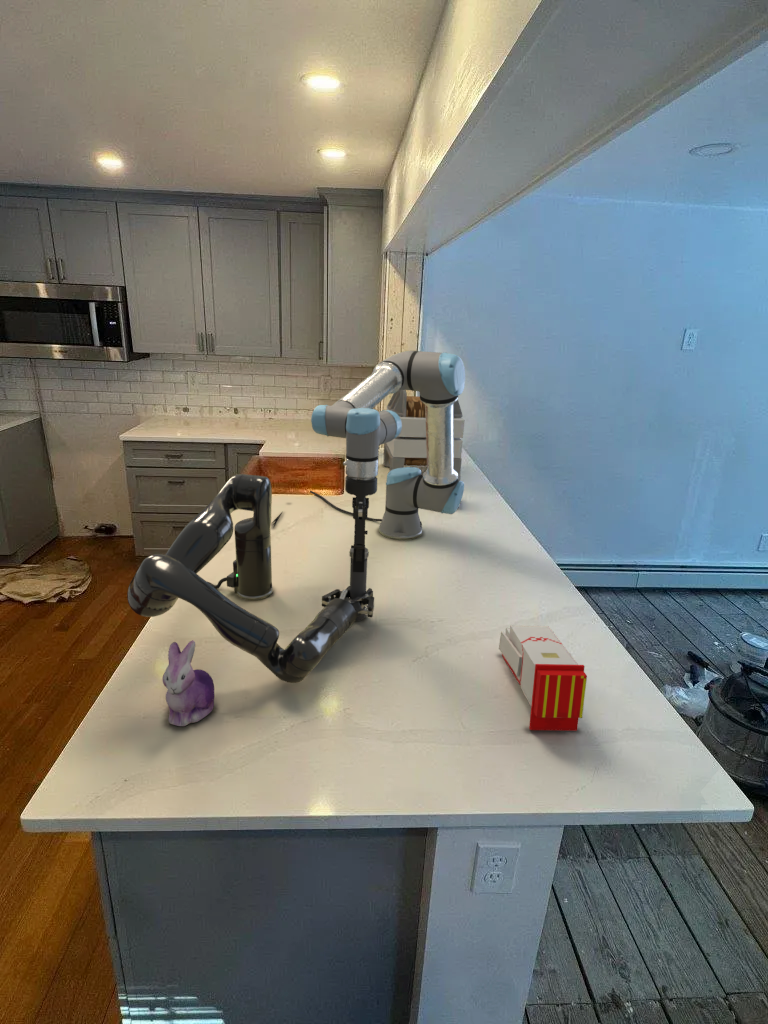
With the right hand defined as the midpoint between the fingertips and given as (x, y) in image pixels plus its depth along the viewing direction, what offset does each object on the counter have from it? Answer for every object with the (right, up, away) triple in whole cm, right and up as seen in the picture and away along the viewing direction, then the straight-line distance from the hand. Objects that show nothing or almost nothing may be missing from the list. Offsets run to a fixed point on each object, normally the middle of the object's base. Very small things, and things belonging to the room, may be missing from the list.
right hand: (358, 565), depth 140 cm
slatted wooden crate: (+24, +32, +134) cm, 140 cm away
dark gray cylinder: (-1, -14, +5) cm, 15 cm away
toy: (+38, -24, -19) cm, 49 cm away
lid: (0, +4, -1) cm, 4 cm away
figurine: (-31, -25, -31) cm, 51 cm away
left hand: (+1, -7, +5) cm, 9 cm away
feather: (-32, +12, +71) cm, 79 cm away
